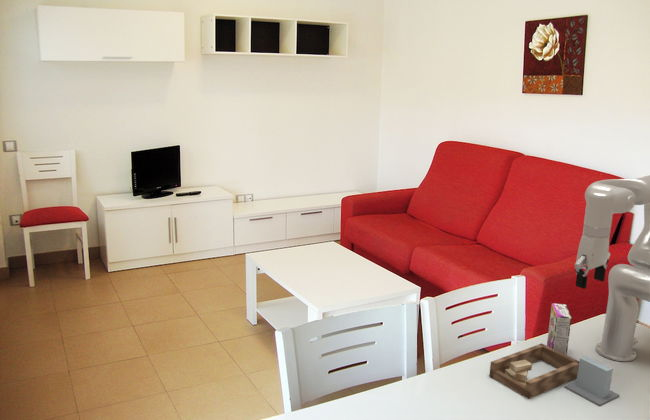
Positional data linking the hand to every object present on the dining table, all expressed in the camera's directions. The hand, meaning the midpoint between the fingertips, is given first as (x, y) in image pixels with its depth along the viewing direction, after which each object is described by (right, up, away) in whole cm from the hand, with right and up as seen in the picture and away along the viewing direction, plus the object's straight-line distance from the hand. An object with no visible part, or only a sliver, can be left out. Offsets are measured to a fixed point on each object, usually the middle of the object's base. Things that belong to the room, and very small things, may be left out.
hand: (589, 283), depth 191 cm
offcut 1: (-22, -26, 0) cm, 34 cm away
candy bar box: (-3, -27, +19) cm, 33 cm away
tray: (-16, -30, +4) cm, 34 cm away
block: (-1, -32, -4) cm, 32 cm away
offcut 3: (-22, -31, +1) cm, 38 cm away
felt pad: (-1, -32, -4) cm, 33 cm away
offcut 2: (-21, -29, +1) cm, 35 cm away
